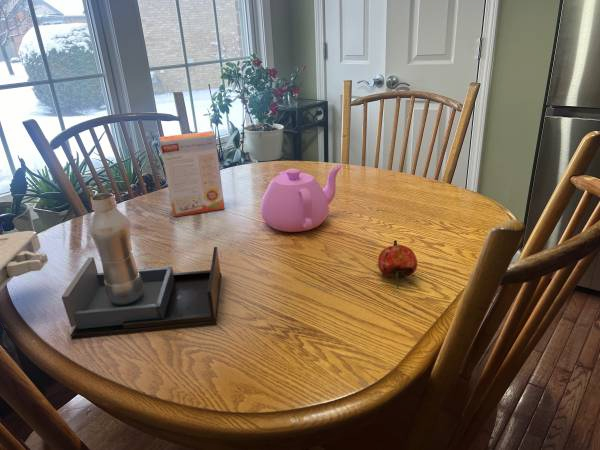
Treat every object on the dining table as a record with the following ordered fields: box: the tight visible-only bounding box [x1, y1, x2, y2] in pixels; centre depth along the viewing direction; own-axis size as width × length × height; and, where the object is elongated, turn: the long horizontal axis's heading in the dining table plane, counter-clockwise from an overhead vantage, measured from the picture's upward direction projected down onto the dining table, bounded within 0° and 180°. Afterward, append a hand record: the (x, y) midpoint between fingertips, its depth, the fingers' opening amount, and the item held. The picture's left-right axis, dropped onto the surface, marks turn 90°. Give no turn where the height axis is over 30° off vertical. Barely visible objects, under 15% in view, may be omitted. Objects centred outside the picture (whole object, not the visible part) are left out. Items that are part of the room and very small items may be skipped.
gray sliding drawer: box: [61, 256, 174, 329], centre depth 78 cm, size 15×13×7 cm
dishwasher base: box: [70, 246, 222, 340], centre depth 79 cm, size 24×16×7 cm
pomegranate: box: [377, 239, 418, 290], centre depth 84 cm, size 7×7×10 cm
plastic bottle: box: [88, 192, 143, 305], centre depth 76 cm, size 6×7×20 cm
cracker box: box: [159, 130, 225, 218], centre depth 117 cm, size 14×6×21 cm, turn 108°
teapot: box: [260, 164, 344, 233], centre depth 109 cm, size 22×22×14 cm
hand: (43, 261), depth 75 cm, fingers closed
